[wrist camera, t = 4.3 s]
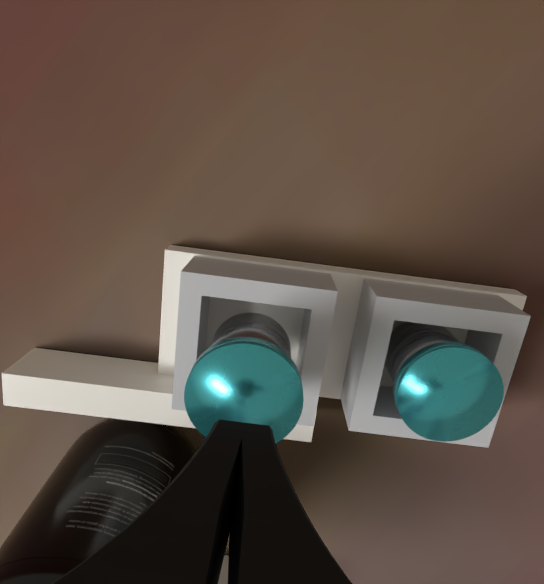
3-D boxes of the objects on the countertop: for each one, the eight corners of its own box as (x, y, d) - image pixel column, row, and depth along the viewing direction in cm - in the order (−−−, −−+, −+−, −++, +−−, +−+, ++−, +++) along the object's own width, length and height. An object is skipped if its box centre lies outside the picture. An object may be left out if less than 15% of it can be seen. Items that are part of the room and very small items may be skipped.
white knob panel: (419, 598, 24) (442, 668, 21) (42, 555, 24) (3, 620, 21) (514, 289, 19) (564, 317, 16) (29, 226, 19) (-25, 242, 15)
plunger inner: (291, 396, 17) (294, 457, 14) (200, 385, 17) (180, 443, 14) (305, 311, 16) (312, 353, 13) (208, 298, 16) (188, 337, 13)
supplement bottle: (42, 454, 22) (-215, 775, 11) (147, 388, 21) (-14, 671, 9) (128, 544, 24) (-14, 908, 12) (231, 488, 22) (180, 834, 11)
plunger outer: (449, 394, 19) (487, 447, 16) (368, 384, 19) (387, 435, 16) (471, 318, 18) (516, 355, 15) (385, 306, 18) (410, 342, 15)
